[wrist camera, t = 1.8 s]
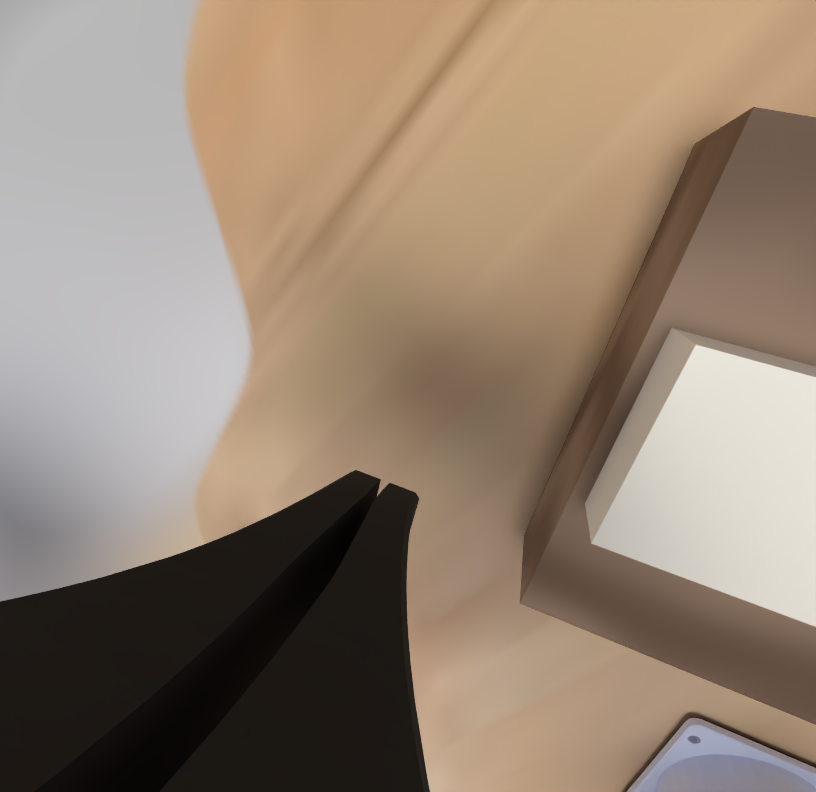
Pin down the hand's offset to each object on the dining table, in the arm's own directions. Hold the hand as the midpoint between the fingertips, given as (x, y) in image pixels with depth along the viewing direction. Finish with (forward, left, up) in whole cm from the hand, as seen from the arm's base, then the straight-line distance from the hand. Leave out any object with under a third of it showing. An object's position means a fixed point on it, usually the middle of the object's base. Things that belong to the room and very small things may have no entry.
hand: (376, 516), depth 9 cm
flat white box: (+2, -10, -5) cm, 12 cm away
